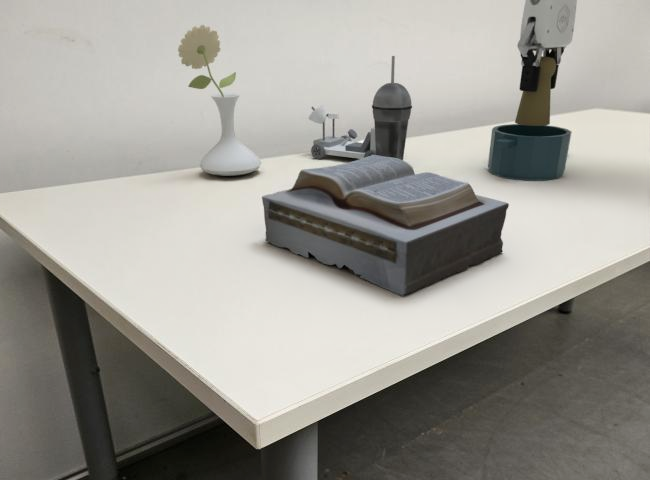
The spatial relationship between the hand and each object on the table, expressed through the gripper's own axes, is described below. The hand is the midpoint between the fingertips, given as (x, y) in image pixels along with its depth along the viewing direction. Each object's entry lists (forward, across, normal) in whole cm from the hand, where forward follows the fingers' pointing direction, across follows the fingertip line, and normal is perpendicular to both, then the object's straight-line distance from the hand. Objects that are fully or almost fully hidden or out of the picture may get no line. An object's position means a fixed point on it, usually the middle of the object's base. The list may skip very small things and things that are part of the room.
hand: (537, 88), depth 107 cm
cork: (+6, 0, 0) cm, 6 cm away
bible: (+15, -50, -9) cm, 53 cm away
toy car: (+15, -14, +32) cm, 38 cm away
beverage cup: (+15, -18, +18) cm, 29 cm away
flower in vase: (+15, -41, +38) cm, 58 cm away
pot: (+15, 0, 0) cm, 15 cm away
